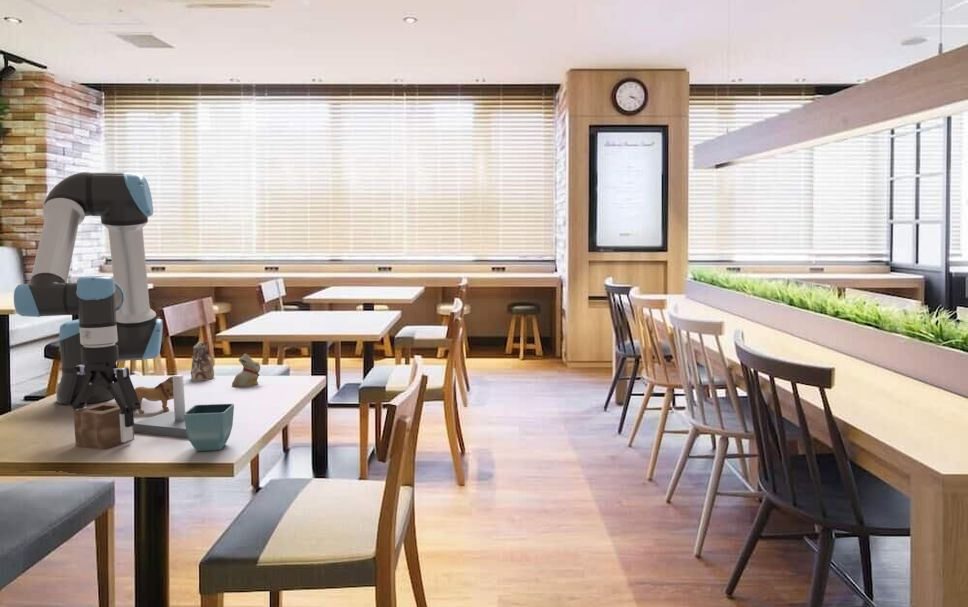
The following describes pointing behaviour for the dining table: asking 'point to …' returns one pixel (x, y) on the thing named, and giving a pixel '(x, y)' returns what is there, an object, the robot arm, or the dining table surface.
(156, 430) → the spindle stand
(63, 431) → the dining table surface
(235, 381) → the chocolate bunny
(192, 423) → the flower pot
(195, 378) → the figurine
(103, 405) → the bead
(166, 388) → the lion figurine
